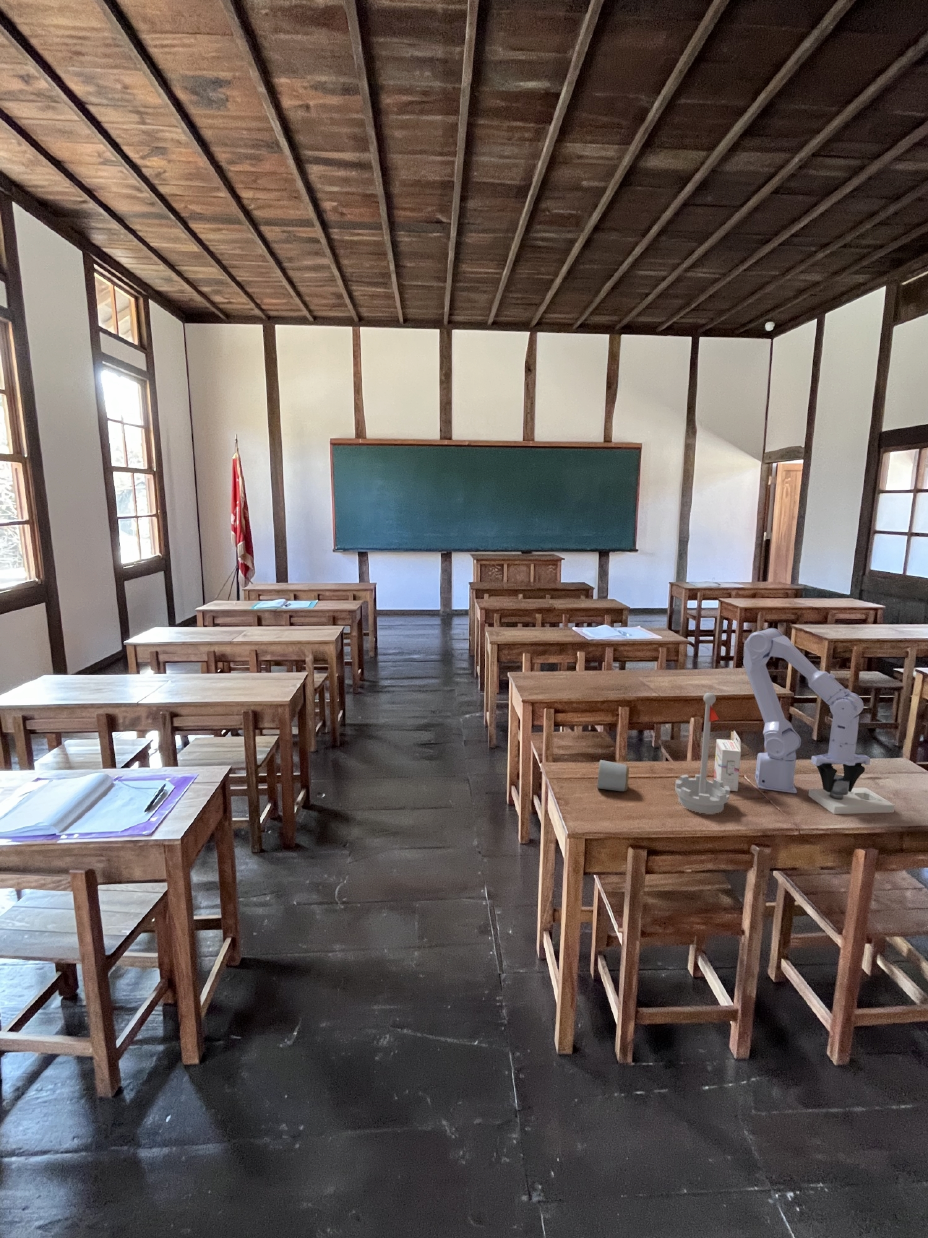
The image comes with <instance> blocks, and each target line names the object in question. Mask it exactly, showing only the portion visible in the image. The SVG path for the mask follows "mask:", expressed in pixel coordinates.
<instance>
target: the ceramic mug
mask: <svg viewBox="0 0 928 1238" xmlns="http://www.w3.org/2000/svg"><path fill="white" fill-rule="evenodd" d="M629 777H630V766H628V765H627V764H624V763H619V762H613V761H607V760H604V759H603V760H602V759H600V760H599V764H598V774H597V782H596V783H597V784H596V788H597V789H599V790H600V789H601V790H608V791H615V792H616V791H617V792H626V791H627V790H628V786H629Z"/></svg>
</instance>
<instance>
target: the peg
mask: <svg viewBox="0 0 928 1238" xmlns="http://www.w3.org/2000/svg"><path fill="white" fill-rule="evenodd" d="M849 784H850V779H849V778H847V777H845V776H844V775H841V774H837V773H836V774H835V777H834V779H833V784H832V790H831V792H830V795H829V796H830V797H831V798H833V799H837V800H842V799H843V795H847V794H848V792H849Z"/></svg>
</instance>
